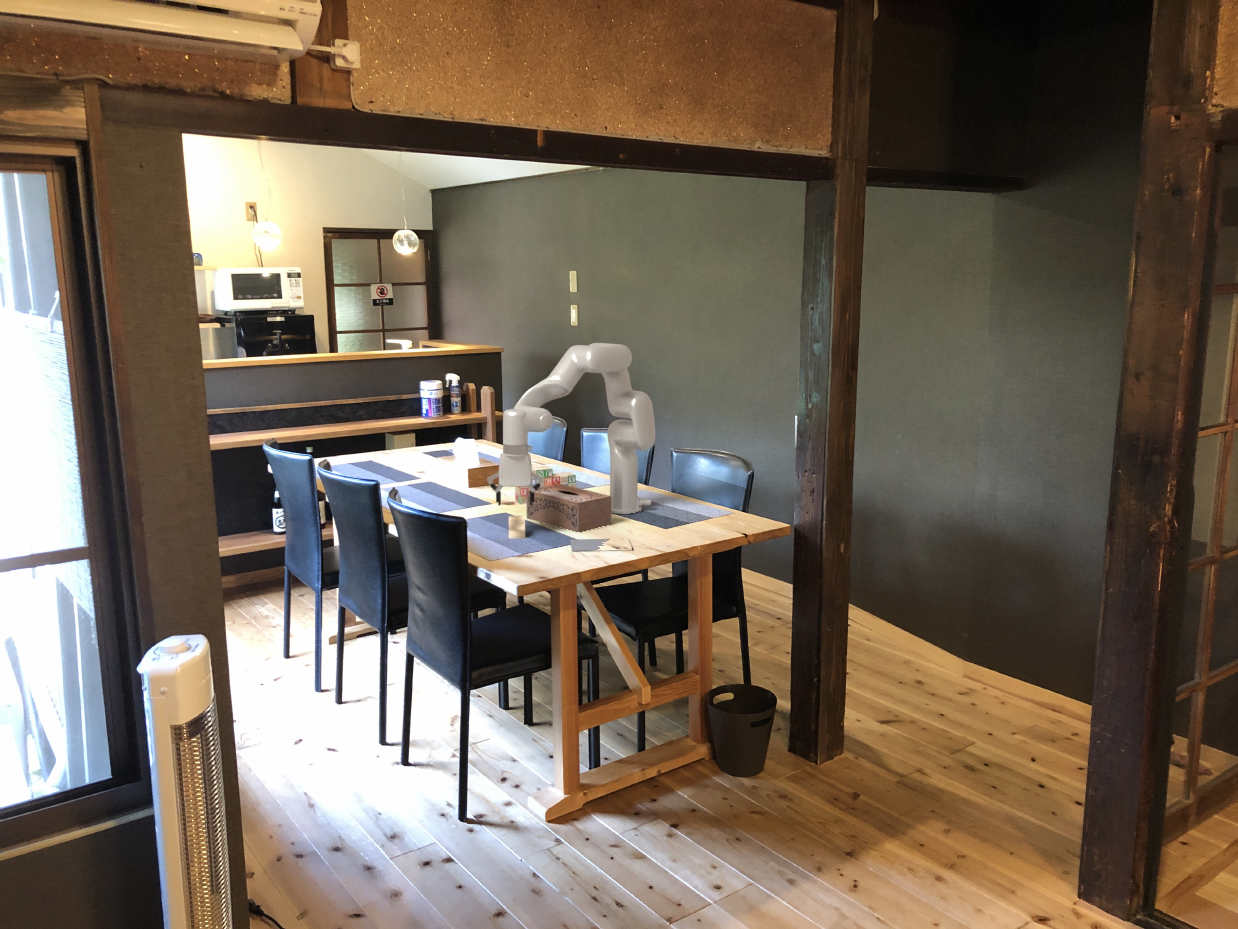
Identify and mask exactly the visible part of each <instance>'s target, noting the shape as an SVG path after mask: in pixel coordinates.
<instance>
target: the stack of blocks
mask: <svg viewBox="0 0 1238 929" xmlns="http://www.w3.org/2000/svg"><path fill="white" fill-rule="evenodd" d="M553 471H554V470H553V468H552V467H550V466H548V465H538V466H532V472H533V473H535V474H537V475H539V476H541V477H543V479H544V480H543V482H542V484H541V486H540V487H545V486H550V485H555V484H562V485H566V486H571V487H575V488H577V480H576V479H577V476H576V475H577V474H575V473H574V472H571V471H564V472H553ZM537 482H538V480H537V479H535V478H533V477H532V483H531V484H532V485H533V486H535V485H536V484H537ZM526 490H529V488H528V487H514V492H515V493H514V494H515V495H514V497H515V502H516V503H517V504H519V505H527V498H526Z"/></svg>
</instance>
